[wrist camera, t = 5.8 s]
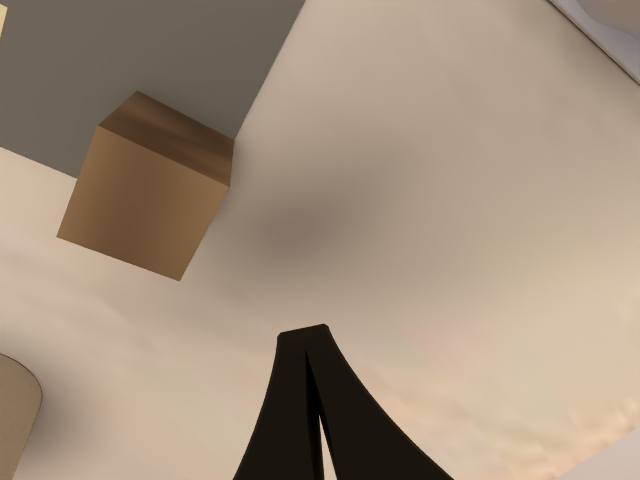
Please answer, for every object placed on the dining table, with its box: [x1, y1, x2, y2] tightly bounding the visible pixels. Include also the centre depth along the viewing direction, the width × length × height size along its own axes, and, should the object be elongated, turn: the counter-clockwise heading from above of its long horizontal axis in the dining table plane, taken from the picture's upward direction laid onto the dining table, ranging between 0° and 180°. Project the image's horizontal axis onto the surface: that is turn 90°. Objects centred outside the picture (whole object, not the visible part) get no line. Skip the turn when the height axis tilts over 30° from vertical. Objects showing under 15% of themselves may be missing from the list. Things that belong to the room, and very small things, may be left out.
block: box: [56, 91, 234, 281], centre depth 15 cm, size 4×4×5 cm
